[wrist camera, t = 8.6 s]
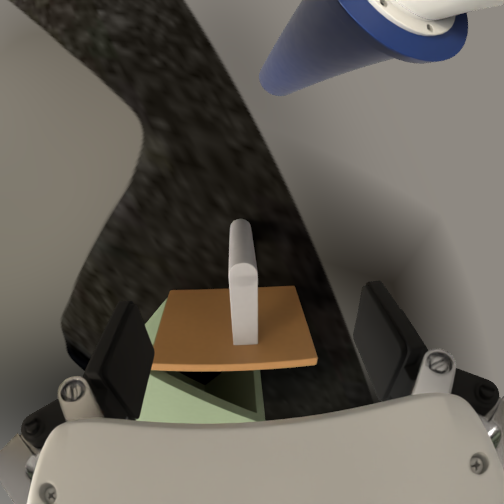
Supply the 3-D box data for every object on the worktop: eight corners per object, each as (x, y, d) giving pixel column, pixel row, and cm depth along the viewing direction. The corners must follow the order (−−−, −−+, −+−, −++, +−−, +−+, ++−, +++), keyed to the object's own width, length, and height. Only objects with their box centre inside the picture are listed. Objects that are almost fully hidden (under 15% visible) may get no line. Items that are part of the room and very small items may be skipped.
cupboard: (172, 279, 30) (145, 372, 19) (256, 332, 34) (265, 424, 23) (132, 330, 33) (103, 414, 22) (208, 372, 37) (204, 454, 26)
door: (166, 210, 27) (122, 281, 15) (292, 206, 27) (332, 274, 16) (176, 279, 30) (151, 370, 19) (288, 275, 31) (316, 365, 19)
